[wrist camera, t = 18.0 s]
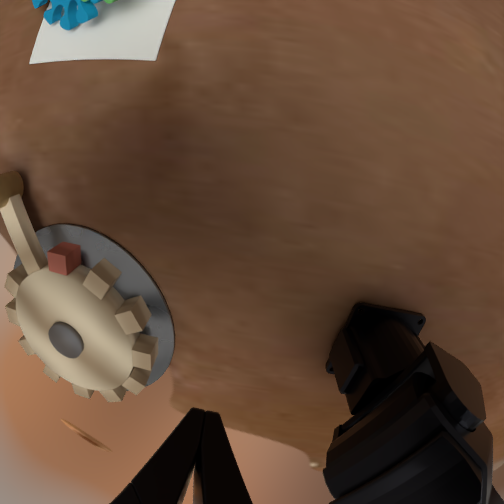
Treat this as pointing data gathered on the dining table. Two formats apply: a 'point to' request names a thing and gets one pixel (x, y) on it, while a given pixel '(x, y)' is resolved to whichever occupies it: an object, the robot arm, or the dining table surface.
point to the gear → (70, 11)
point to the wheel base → (119, 282)
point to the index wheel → (74, 311)
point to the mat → (107, 33)
